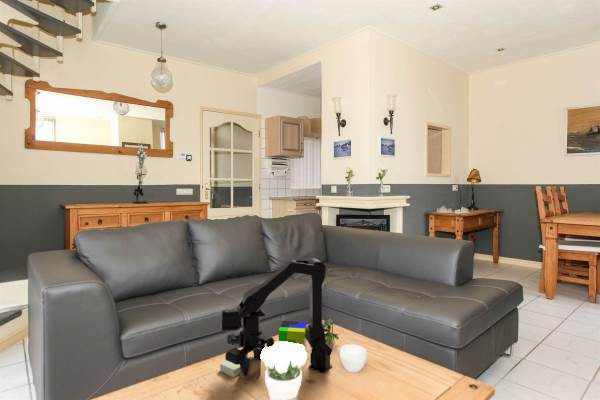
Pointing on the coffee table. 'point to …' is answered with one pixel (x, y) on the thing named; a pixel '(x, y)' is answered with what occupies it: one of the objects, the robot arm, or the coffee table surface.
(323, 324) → the passion flower
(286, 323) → the puzzle toy
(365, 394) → the coffee table surface
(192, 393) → the coffee table surface
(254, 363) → the walnut cube
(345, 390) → the coffee table surface
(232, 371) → the pale green block
